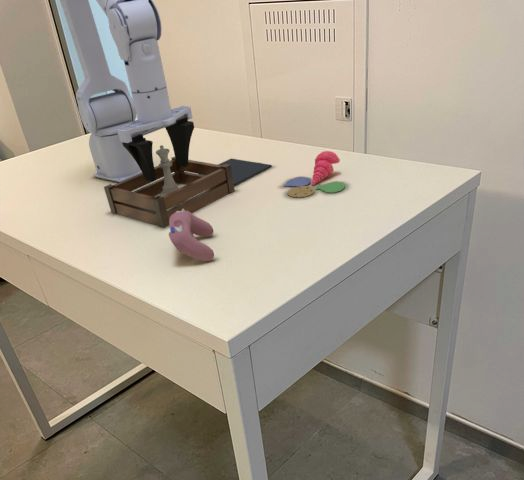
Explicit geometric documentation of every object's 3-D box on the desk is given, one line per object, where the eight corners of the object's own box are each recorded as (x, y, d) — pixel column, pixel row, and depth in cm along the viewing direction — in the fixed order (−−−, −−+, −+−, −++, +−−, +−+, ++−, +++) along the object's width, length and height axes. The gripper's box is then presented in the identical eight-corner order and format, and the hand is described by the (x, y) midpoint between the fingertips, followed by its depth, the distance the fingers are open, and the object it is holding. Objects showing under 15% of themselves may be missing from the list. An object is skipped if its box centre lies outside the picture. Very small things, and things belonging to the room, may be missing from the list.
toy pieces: (289, 173, 104) (287, 150, 101) (348, 171, 101) (348, 147, 99) (277, 198, 94) (275, 173, 92) (342, 196, 92) (342, 170, 89)
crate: (111, 212, 98) (103, 186, 95) (181, 179, 108) (176, 155, 105) (164, 228, 90) (157, 199, 87) (234, 190, 100) (231, 164, 97)
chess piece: (163, 198, 101) (151, 142, 95) (187, 196, 100) (176, 140, 95) (159, 207, 97) (146, 150, 91) (183, 205, 97) (171, 147, 91)
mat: (193, 178, 108) (193, 176, 108) (231, 160, 114) (231, 158, 114) (234, 186, 102) (234, 184, 102) (271, 166, 108) (271, 164, 108)
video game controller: (192, 245, 87) (164, 211, 83) (216, 230, 86) (188, 194, 82) (191, 275, 79) (160, 238, 75) (217, 258, 78) (186, 220, 74)
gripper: (129, 101, 81) (150, 190, 89) (198, 79, 90) (212, 162, 98) (101, 99, 85) (124, 184, 93) (169, 77, 94) (185, 157, 102)
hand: (167, 172), depth 96 cm, fingers open, 7 cm apart
